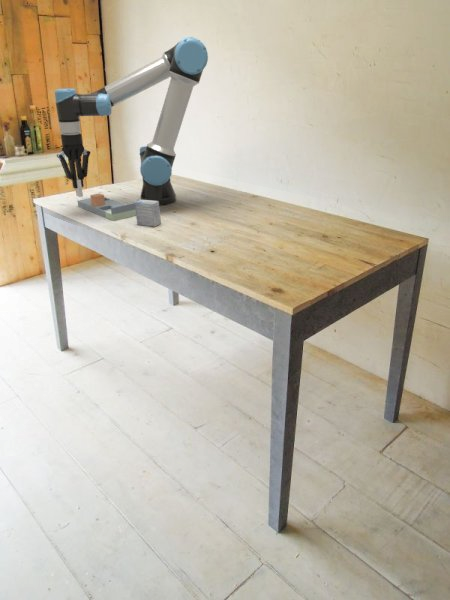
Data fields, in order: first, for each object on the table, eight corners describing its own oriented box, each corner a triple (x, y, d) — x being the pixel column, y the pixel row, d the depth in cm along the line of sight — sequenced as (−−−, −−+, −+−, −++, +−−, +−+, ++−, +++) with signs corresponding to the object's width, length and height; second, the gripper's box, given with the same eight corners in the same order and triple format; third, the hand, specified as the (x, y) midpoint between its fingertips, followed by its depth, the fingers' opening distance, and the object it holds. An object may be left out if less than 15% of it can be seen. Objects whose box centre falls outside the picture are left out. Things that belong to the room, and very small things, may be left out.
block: (91, 204, 204) (90, 195, 202) (100, 203, 206) (99, 193, 204) (96, 206, 201) (94, 196, 199) (105, 204, 203) (103, 195, 202)
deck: (78, 206, 212) (76, 194, 210) (101, 201, 218) (100, 190, 216) (113, 221, 191) (112, 208, 189) (138, 215, 197) (137, 202, 195)
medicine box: (161, 223, 186) (159, 200, 182) (155, 227, 183) (152, 203, 179) (143, 221, 189) (141, 199, 186) (136, 225, 186) (134, 202, 182)
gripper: (82, 130, 193) (90, 191, 204) (50, 134, 186) (59, 197, 196) (91, 132, 188) (99, 194, 198) (58, 136, 181) (68, 200, 191)
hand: (79, 195), depth 197 cm, fingers closed
